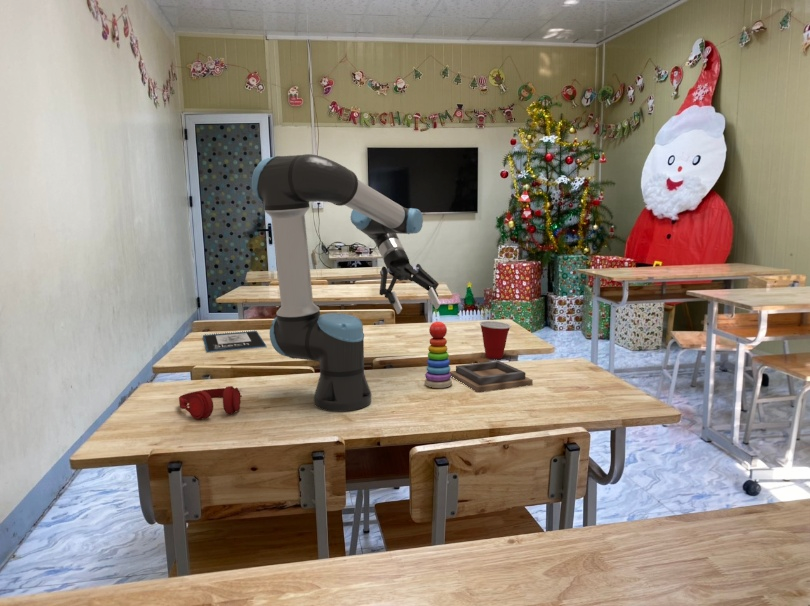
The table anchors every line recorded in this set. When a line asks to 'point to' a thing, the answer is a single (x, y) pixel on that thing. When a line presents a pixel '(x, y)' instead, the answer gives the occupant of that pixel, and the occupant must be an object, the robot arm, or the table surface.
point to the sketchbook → (233, 341)
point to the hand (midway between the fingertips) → (419, 309)
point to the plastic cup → (494, 338)
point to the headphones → (210, 401)
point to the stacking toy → (438, 358)
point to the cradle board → (490, 376)
